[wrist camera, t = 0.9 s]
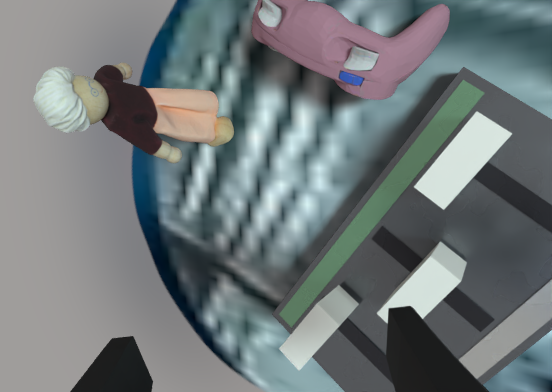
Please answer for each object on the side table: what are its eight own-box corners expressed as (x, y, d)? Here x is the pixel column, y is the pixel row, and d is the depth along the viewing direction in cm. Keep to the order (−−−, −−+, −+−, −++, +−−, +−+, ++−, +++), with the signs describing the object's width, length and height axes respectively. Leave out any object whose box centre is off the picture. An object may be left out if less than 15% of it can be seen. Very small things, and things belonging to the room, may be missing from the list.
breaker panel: (687, 205, 16) (704, 209, 15) (405, 434, 24) (400, 451, 22) (465, 72, 20) (463, 66, 19) (282, 306, 28) (271, 314, 26)
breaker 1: (359, 304, 22) (339, 325, 20) (321, 345, 24) (298, 370, 21) (338, 285, 23) (316, 303, 20) (303, 326, 25) (279, 348, 22)
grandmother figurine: (253, 128, 27) (89, 114, 16) (226, 167, 29) (60, 178, 18) (192, 63, 29) (12, 13, 19) (169, 102, 31) (-8, 78, 20)
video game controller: (299, 22, 26) (226, 45, 22) (314, -54, 23) (232, -44, 19) (426, 86, 23) (367, 128, 18) (466, 6, 19) (405, 35, 15)
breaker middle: (466, 262, 19) (461, 281, 17) (415, 313, 21) (402, 338, 18) (440, 241, 20) (430, 256, 17) (392, 292, 21) (376, 313, 19)
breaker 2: (510, 135, 18) (512, 133, 15) (451, 201, 19) (443, 209, 17) (480, 116, 18) (476, 111, 16) (425, 181, 20) (413, 187, 17)
